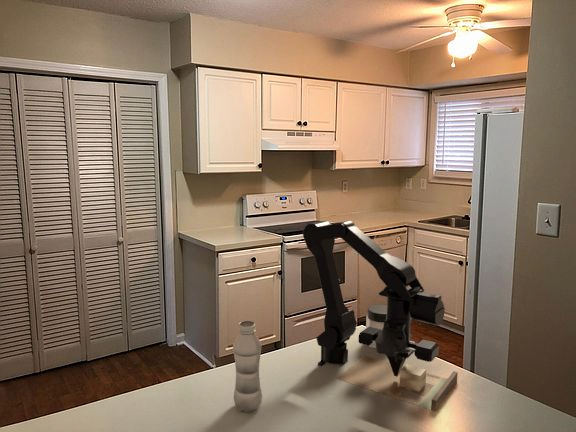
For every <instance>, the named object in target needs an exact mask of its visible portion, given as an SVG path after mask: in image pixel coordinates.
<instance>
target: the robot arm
mask: <svg viewBox="0 0 576 432" xmlns="http://www.w3.org/2000/svg"><path fill="white" fill-rule="evenodd" d="M302 237H303V240H304V242H305V245H306V248H307V249H308V250H309V251H310V253H311V254H312V255H313V257H314V260H315V263H316V269H317V272H318V277H319V282H320V285H321V291H322V295H323V299H324V303H325V309H326V310H325V314H324V315H325V316H324V319H323V325H324V326H323V327H324V331H323V332H321V333H319V335H318V336H316V338H315V339H316V342H317V346H318V347H319V346H320V361H318V362H317V365H318V366H320V367H322V366H324V365H325V364H327V363H328V364H331V365H344V364H346V363H348V362H349V361H348V360H349V349H347V347H348V346H347V344H348V343H347V341H349V340H350V339H351V336H353V335H354V334H355V332H356V330H357V325H358V322H357V320H356V316H355V310H354V309H351V310H350V309H349V308H348V307H347V306H346V305H345V302H344V299H343V293H342V289H341V285H340V281H339V276H338V271H337V266H336V262H335V259H334V258H335V257H334V252H333V251H334V247H335V242H336V239H338V238H341V240H343V241H344V242H345V243H346V244H347V245H348V246H349V247H350V248H352V249H353V250H354V251H355V252H356V253H357V254H359V255H360V256H361V257H362V258H363V259H364V260H365V261H366V262H368V263H369V264H370V265H371V266H372V267H373V268H374V269H375V271H376V274H377V276H378V278H379V279H380V280H381V281H382V283H383V284H384V285H385V287H384V288H383V289H382V290H381V291H379V292H378V295H379V296H381V297H386V305H387V318H386V320H385V321H384V327H383V329H382V330H381V329H378V328H374V327H367V328H366V327H365V328H364V329H363V330H362V331H360V332H359V335H358V343H359V344H361V345H364V346H368V347H369V345H370V344H372V343H373V341H375V343H376V348H375V350H376V352H377V354H381V355H382V354H383V355H385V356H386V358H387V360H388V362H390V365H391V368H392V371H393V374H394V376H396V377H397V376H398V375H399V373H400V370H401V369H402V367H403V366H404V364H405V362H406V360H407V359H409V358H410V357H411V356H412V355H413V354H414V356H415V358H416V359H417V360H421V361H424V362H427V363H430V362H433V361H434V359H436V357H437V356H438V355H439V353H440V352H439V351H440V346H439V345H438V343H437V342H434V341H430V340H426V339H422V340H421V341H420V342H419V343H417V342H415V341H412V340H411V339H412V338H413V337H412V333H411V323H413V320H414V321H417V322H421V323H426V324H429V325H434V326H436V327H439V326H440V325H441V324H442V322H443V319H444V316H445V311H446V309H445V308H446V307H444V306H445V305H444V302H443V301H442V296H441V295H439V294H430V293H426V292H425V289H424V287H423V285H422V284H421V282H420V281H419V279H418V277H417V274H416V270H415V268H414V266H413V265H411V264H410V263H408V262H407V261H404V260H402V258H399V257H397V256H395V255H394V256H393V255H392V254H390V253H388V252H386V250H384V249H383V248H382V247H380V245H378V244H377V243H376V242H375V241H374V240H372V239H371V237H369V236H368V235H367V234H365V233H364V232H363V231H362V230H361V229H359V228H358V227H357V226H356V225H355V223H354V222H353V221H351V220H344V221H340V222H339V221H338V222H333V223H330V221H326V220H320V221H316V222H311V223H308V224H306V226H304V229H303V230H302ZM408 287H410V288H409V289H407V288H408Z"/></svg>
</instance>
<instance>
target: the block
mask: <svg viewBox="0 0 576 432" xmlns="http://www.w3.org/2000/svg"><path fill="white" fill-rule="evenodd" d="M403 366H404V367H403V368H402V369H401V370H400V384H399V386H402V387H406V388H409V389H412V390H415V391H418V392H420V391H421V390H422V388H423V387H424V386H425V384H426V383H427V382H426V380H427V375H426V373H427V368H421V367H418V366H415V365H412V364H408V363H405V365H403Z"/></svg>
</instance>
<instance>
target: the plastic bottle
mask: <svg viewBox="0 0 576 432" xmlns="http://www.w3.org/2000/svg"><path fill="white" fill-rule="evenodd" d="M256 332H257V331H256V322H254V321H252V320H243V321H240V322H239V323H238V333H239V334H238V335H237V337H236V338H235V340H234V341H233V345H232V351H233V356H234V361H235V362H234V364H235V366H234V367H235V384H234V391H233V402H234V405H235V407H236V408H237V409H238V410H239V411H241V412H245V413H247V412H248V413H250V412H254V411H256V410H257V409H259V408H260V407H261V405H262V401H263V393H262V387H261V381H260V380H261V378H260V360H261V352H262V343H261V340H260V339H259V337H258V336H257V335H256Z"/></svg>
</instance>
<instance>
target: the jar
mask: <svg viewBox="0 0 576 432" xmlns="http://www.w3.org/2000/svg"><path fill="white" fill-rule="evenodd" d="M366 312H367V315H366V317H365V319H366V320H365V321H366V322H365V329H366V328H367V327H374V328H378V329H381V330H382V329H383V327H384V321H385V320H386V318H387V304H372V305H370V306H368V307H367V311H366ZM368 348H372V349H376V343H375V341H373V343H372V344H370V345H369V346H368Z"/></svg>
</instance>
